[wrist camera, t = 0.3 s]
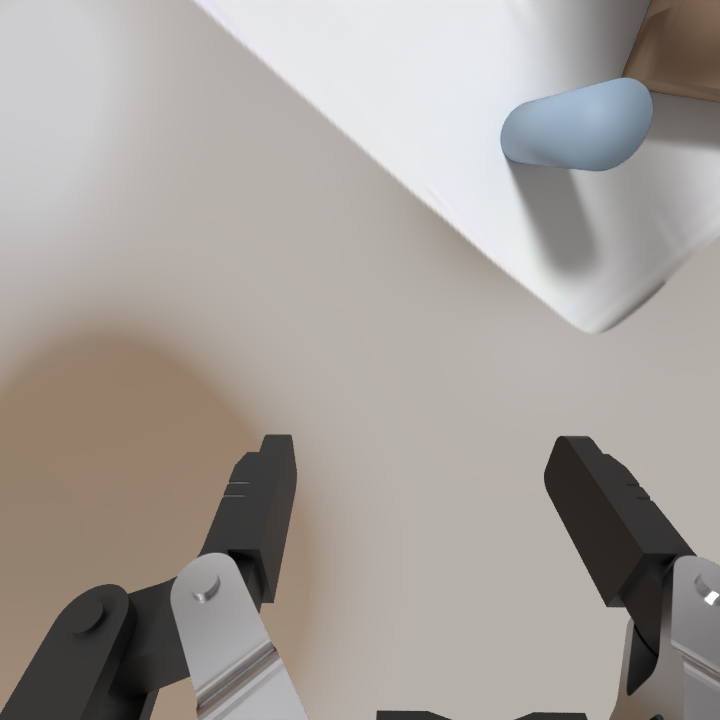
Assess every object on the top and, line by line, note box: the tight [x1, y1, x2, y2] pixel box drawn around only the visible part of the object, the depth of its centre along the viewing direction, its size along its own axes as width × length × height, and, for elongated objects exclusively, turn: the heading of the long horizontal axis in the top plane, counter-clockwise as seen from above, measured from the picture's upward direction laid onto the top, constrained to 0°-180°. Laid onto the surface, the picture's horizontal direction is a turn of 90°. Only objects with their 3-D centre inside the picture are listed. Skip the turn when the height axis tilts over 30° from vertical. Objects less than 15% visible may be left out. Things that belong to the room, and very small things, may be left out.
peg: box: [501, 78, 653, 171], centre depth 25 cm, size 4×4×12 cm
